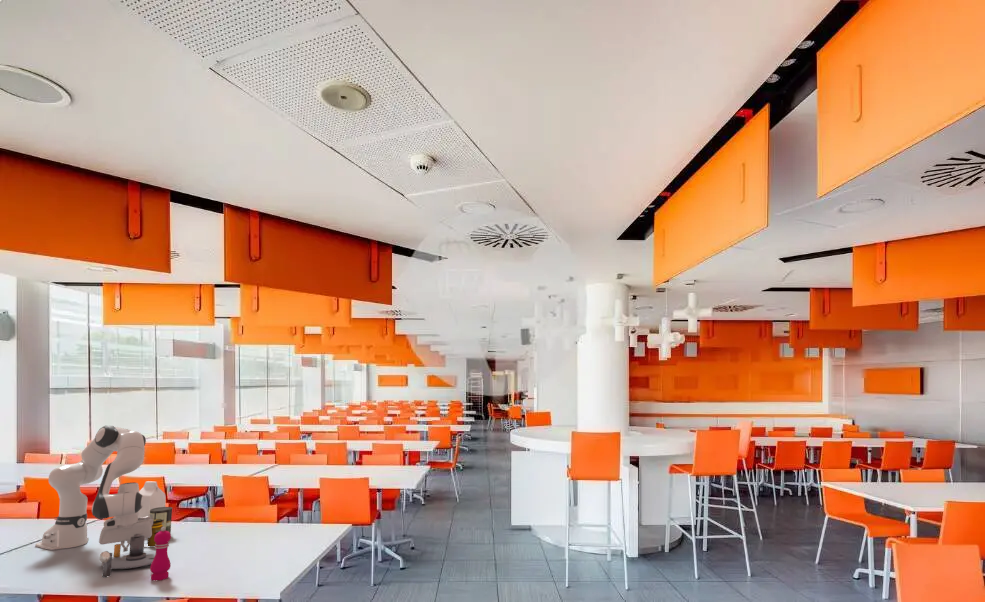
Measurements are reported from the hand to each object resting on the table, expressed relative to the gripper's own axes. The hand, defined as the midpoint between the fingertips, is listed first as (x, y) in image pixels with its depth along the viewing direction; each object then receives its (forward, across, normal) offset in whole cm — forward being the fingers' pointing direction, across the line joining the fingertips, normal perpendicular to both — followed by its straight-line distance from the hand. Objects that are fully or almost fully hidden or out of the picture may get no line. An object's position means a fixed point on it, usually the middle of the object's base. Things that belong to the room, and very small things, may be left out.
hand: (125, 551), depth 259 cm
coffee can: (+3, -13, -36) cm, 39 cm away
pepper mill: (+5, -14, +37) cm, 40 cm away
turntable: (+3, -4, +8) cm, 10 cm away
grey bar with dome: (+4, +5, +23) cm, 24 cm away
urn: (+2, -4, +8) cm, 10 cm away
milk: (+2, -7, -52) cm, 52 cm away
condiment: (+3, -10, -21) cm, 23 cm away
